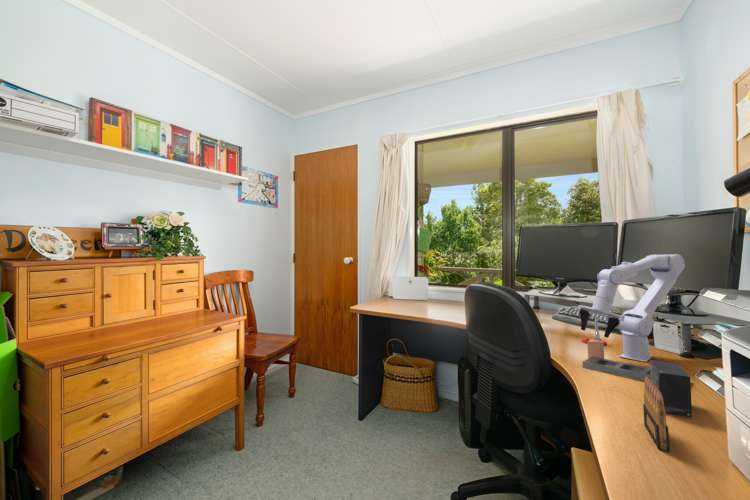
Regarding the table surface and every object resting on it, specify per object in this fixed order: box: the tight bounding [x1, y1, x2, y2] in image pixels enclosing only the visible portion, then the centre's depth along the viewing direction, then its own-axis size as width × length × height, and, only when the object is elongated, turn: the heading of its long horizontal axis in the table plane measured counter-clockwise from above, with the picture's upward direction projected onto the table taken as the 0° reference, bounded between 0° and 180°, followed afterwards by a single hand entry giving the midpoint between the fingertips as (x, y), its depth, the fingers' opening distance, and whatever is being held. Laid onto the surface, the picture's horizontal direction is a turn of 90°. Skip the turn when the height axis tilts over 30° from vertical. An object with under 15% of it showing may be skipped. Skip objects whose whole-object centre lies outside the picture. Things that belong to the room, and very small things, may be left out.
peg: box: [586, 338, 605, 359], centre depth 120 cm, size 4×4×7 cm
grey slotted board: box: [581, 356, 651, 383], centre depth 104 cm, size 9×26×2 cm, turn 37°
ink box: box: [652, 320, 685, 355], centre depth 126 cm, size 3×9×12 cm, turn 13°
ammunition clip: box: [642, 376, 671, 453], centre depth 69 cm, size 11×2×12 cm, turn 151°
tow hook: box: [581, 314, 608, 346], centre depth 141 cm, size 8×13×9 cm
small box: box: [649, 359, 693, 419], centre depth 82 cm, size 11×6×10 cm, turn 148°
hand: (594, 333), depth 117 cm, fingers open, 7 cm apart
